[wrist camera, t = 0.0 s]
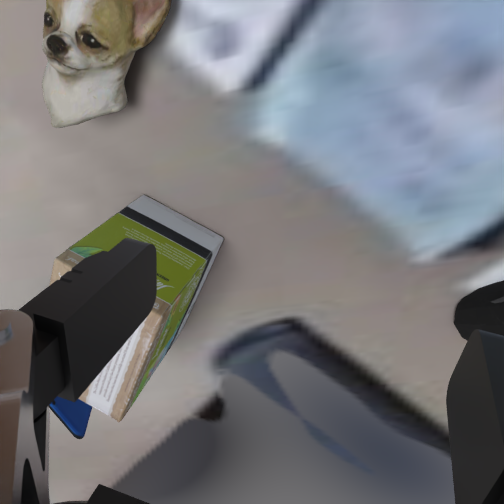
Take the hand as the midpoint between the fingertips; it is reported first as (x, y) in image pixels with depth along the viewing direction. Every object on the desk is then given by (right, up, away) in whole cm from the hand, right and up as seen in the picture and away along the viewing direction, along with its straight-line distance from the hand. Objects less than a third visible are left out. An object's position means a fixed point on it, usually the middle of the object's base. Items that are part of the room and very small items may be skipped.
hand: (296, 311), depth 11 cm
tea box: (-11, 0, +39) cm, 41 cm away
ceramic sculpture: (-13, +21, +29) cm, 38 cm away
